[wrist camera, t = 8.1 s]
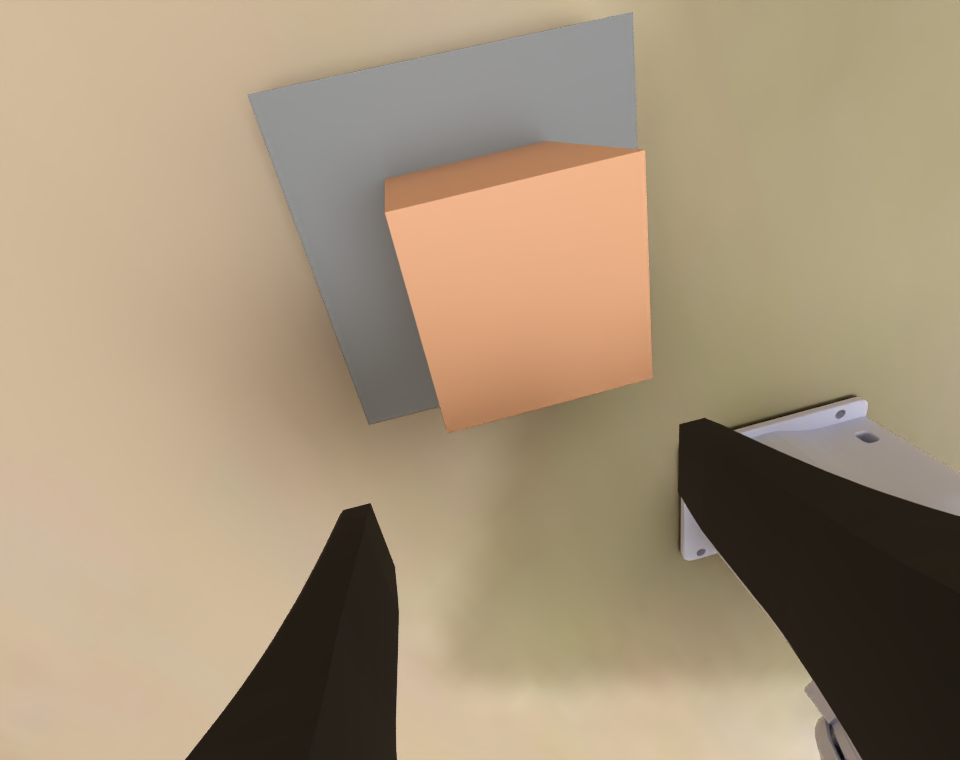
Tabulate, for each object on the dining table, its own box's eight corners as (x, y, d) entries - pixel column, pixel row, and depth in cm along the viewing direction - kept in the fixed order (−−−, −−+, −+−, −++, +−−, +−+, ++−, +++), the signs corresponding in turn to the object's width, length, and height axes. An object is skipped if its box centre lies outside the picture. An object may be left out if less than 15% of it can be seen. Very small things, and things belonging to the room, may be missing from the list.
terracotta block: (545, 141, 14) (645, 150, 8) (564, 295, 16) (652, 378, 11) (384, 178, 13) (384, 212, 8) (426, 330, 16) (447, 433, 10)
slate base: (590, 31, 15) (632, 12, 13) (610, 324, 20) (644, 353, 17) (272, 100, 15) (247, 94, 12) (371, 384, 20) (369, 424, 17)
